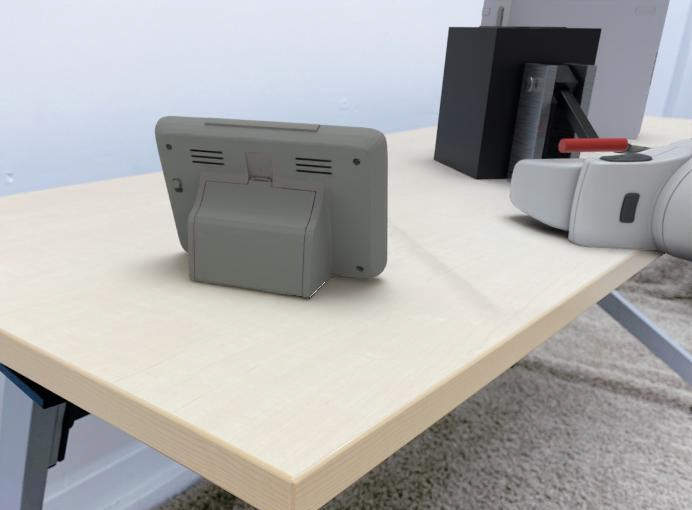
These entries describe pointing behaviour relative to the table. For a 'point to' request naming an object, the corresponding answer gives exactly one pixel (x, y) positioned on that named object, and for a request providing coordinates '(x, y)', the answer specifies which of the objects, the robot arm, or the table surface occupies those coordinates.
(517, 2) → the game console
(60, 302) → the table surface
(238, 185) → the digital clock
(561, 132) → the lever bracket
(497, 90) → the toaster
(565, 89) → the toaster lever
